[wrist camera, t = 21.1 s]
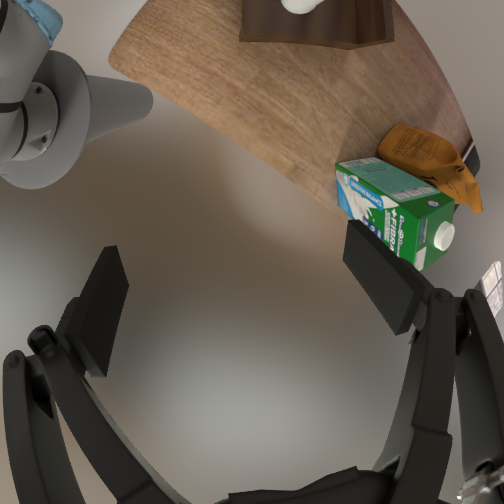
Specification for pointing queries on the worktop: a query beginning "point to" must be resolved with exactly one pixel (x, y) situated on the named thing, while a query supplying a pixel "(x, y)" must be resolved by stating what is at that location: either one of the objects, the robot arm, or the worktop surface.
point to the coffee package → (431, 163)
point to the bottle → (300, 5)
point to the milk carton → (397, 209)
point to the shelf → (319, 23)
